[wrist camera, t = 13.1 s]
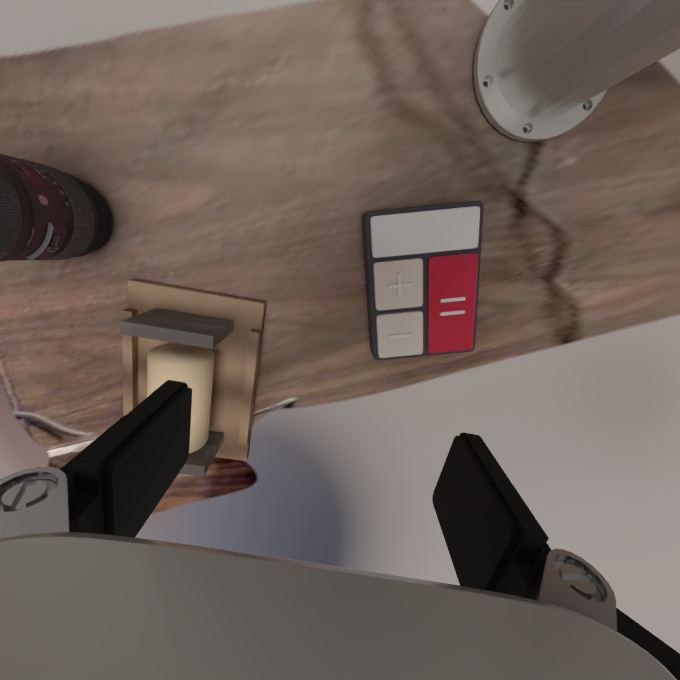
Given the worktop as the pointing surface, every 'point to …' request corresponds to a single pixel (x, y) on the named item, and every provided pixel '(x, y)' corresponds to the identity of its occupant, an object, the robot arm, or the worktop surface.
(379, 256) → the calculator
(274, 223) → the worktop surface
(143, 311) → the roll holder
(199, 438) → the beige cylinder
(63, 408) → the worktop surface
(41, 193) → the camera lens
